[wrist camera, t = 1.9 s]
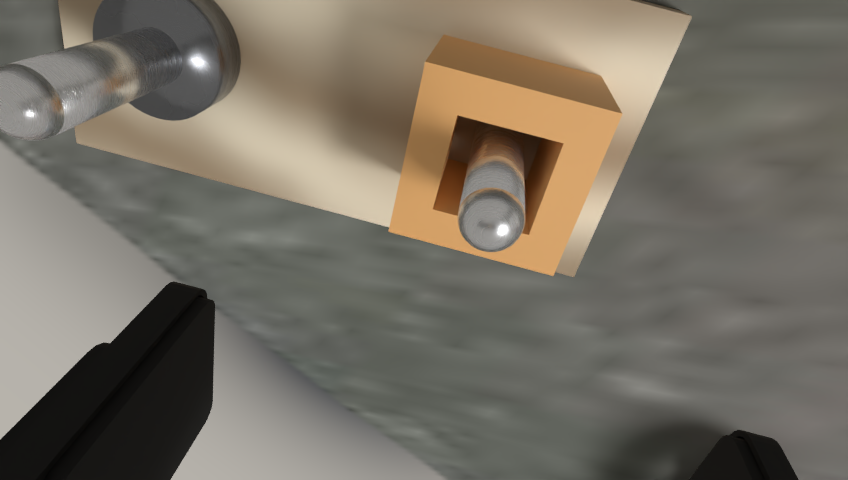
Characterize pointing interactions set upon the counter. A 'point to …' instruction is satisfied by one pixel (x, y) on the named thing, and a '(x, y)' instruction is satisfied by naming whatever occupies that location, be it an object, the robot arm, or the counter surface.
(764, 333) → the counter surface
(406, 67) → the board
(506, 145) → the stand rod
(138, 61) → the metal peg
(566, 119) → the collar
